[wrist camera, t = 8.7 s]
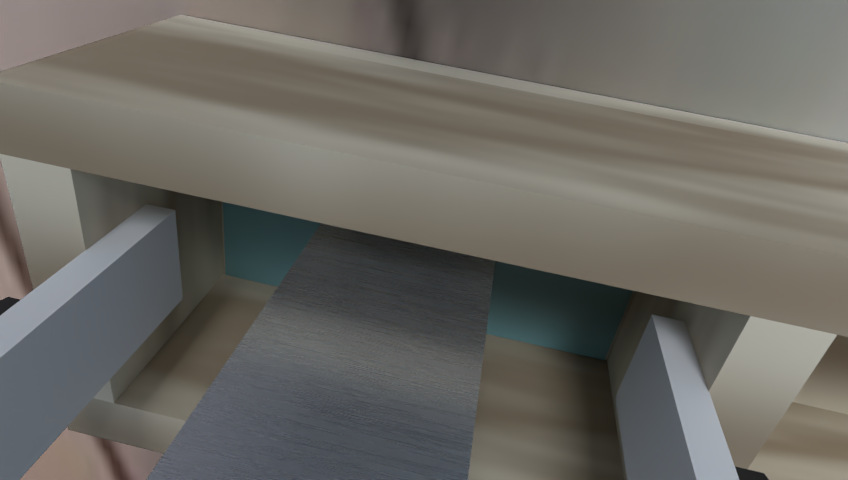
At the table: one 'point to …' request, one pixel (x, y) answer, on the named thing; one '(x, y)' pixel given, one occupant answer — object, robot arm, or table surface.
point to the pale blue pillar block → (349, 370)
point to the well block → (450, 230)
